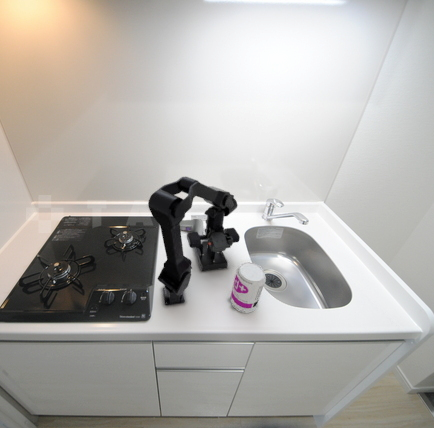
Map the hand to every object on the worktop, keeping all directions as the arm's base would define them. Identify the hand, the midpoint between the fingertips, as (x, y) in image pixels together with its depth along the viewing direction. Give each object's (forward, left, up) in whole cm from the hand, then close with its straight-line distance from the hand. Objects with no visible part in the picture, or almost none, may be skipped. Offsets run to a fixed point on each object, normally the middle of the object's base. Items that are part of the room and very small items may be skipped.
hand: (210, 253), depth 82 cm
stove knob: (0, 0, 0) cm, 0 cm away
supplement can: (-20, -5, -3) cm, 21 cm away
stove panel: (+2, 0, -3) cm, 4 cm away
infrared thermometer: (+18, +6, -3) cm, 19 cm away
